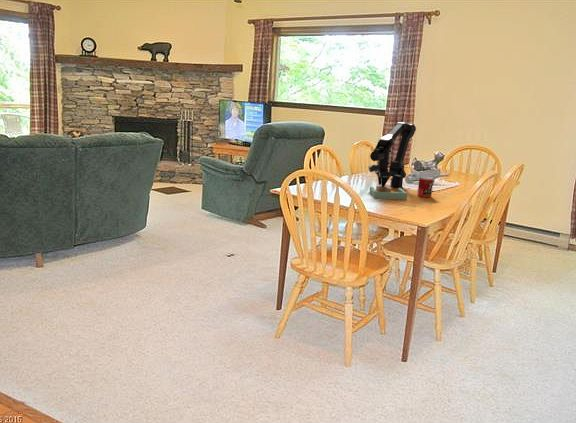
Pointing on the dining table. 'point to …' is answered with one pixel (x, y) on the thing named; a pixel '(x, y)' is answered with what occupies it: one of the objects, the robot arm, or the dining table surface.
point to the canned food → (425, 186)
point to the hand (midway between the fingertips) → (381, 186)
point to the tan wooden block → (383, 189)
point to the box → (389, 194)
